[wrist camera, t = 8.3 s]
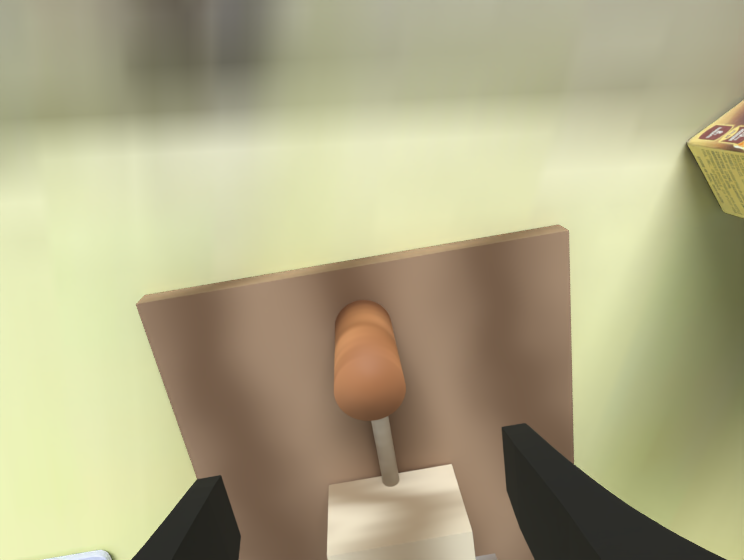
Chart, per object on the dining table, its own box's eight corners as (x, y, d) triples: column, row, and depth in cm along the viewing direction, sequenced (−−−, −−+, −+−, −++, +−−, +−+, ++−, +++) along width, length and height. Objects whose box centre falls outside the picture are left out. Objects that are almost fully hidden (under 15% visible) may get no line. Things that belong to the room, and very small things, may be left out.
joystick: (346, 561, 26) (348, 663, 21) (287, 312, 21) (272, 374, 16) (461, 541, 26) (488, 639, 21) (429, 288, 21) (455, 343, 16)
